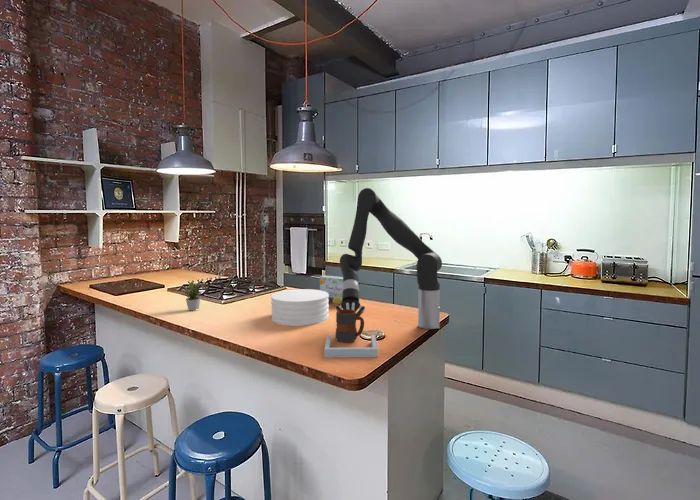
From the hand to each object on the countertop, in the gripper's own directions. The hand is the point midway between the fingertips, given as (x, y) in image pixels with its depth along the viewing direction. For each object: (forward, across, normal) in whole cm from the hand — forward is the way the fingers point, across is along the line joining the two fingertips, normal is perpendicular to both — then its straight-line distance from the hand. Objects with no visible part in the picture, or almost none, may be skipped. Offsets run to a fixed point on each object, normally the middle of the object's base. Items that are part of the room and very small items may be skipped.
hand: (350, 327), depth 157 cm
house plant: (-28, -83, +34) cm, 94 cm away
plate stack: (-17, -25, +24) cm, 39 cm away
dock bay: (+13, 0, -8) cm, 15 cm away
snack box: (-38, -8, +45) cm, 59 cm away
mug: (+6, 0, -1) cm, 7 cm away
